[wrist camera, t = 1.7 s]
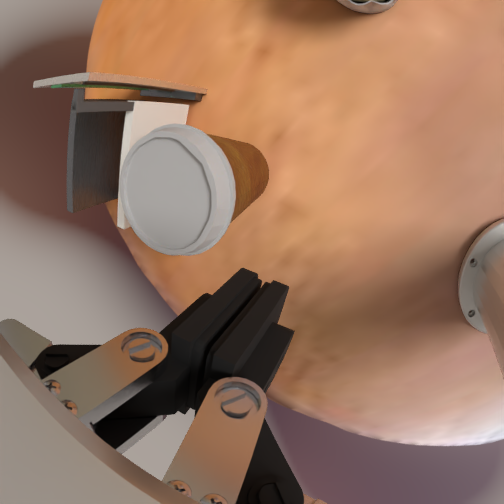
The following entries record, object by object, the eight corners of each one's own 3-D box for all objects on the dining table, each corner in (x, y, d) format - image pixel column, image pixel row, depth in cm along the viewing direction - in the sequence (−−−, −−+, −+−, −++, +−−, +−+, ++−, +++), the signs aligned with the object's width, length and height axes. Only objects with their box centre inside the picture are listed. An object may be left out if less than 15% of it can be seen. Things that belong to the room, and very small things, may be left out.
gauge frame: (207, 89, 27) (89, 72, 14) (185, 222, 34) (83, 274, 21) (141, 84, 30) (33, 81, 17) (127, 200, 36) (32, 236, 24)
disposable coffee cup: (296, 207, 28) (244, 250, 18) (215, 226, 32) (140, 269, 22) (268, 113, 26) (197, 99, 15) (189, 144, 30) (102, 155, 20)
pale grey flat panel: (190, 96, 27) (79, 88, 15) (173, 209, 33) (75, 251, 21) (183, 96, 28) (73, 88, 16) (167, 206, 33) (69, 247, 21)
